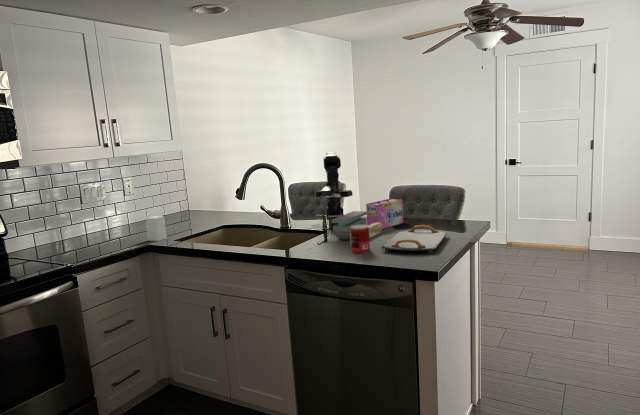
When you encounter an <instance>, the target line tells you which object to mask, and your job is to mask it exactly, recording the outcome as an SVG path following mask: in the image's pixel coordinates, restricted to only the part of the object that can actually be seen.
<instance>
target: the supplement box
mask: <svg viewBox="0 0 640 415" xmlns="http://www.w3.org/2000/svg"><path fill="white" fill-rule="evenodd" d="M144 220H145V226H146V234H147V241H149V242H150V241H151V242H153V241H154V242H156V241H157V242H159V241H161V240H165V239H167V228H166V220H165V216H163V215H162V216H160V215H158V216H157V215H155V216H154V215H153V216H150V217H149V216H148V217H146V218H145V219H144Z"/></svg>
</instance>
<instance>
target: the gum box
mask: <svg viewBox="0 0 640 415" xmlns="http://www.w3.org/2000/svg"><path fill="white" fill-rule="evenodd" d="M365 205H366V206H365V207H366V208H365V209H366V210H365V211H367V215H366V225H371V224H373V223H375V222H381V226H382V230H383V229H387V228H390V226H391V227H394V226H397V225H401V224H405V223H404V222H405V221H404V220H405V219H404V209H403V208H404V207H403V199H402V198H400V199H395V198H387V199H382V200H379V201H374V202H369V203H365Z"/></svg>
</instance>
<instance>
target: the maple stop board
mask: <svg viewBox="0 0 640 415" xmlns="http://www.w3.org/2000/svg"><path fill="white" fill-rule="evenodd" d="M368 226H369V239H370V238H372V237H374V236H376V235H378V234H381V233H382V232H383V231H382V230H383V229H382V226H381V222H375V223H373V224H371V225H368ZM349 243H350V245H352V243H351V234H350V240H349Z"/></svg>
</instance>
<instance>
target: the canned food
mask: <svg viewBox="0 0 640 415" xmlns="http://www.w3.org/2000/svg"><path fill="white" fill-rule="evenodd" d="M351 243H352V244H351V251H352V253H353V252H354V253H353V254H365V253H366V252H367V253H369V252H370V250H371V249H370V248H371V247H370V246H371V245H370V238H369V226H368V225H367V224H366V225H354V226H351ZM367 253H366V254H367Z"/></svg>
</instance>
